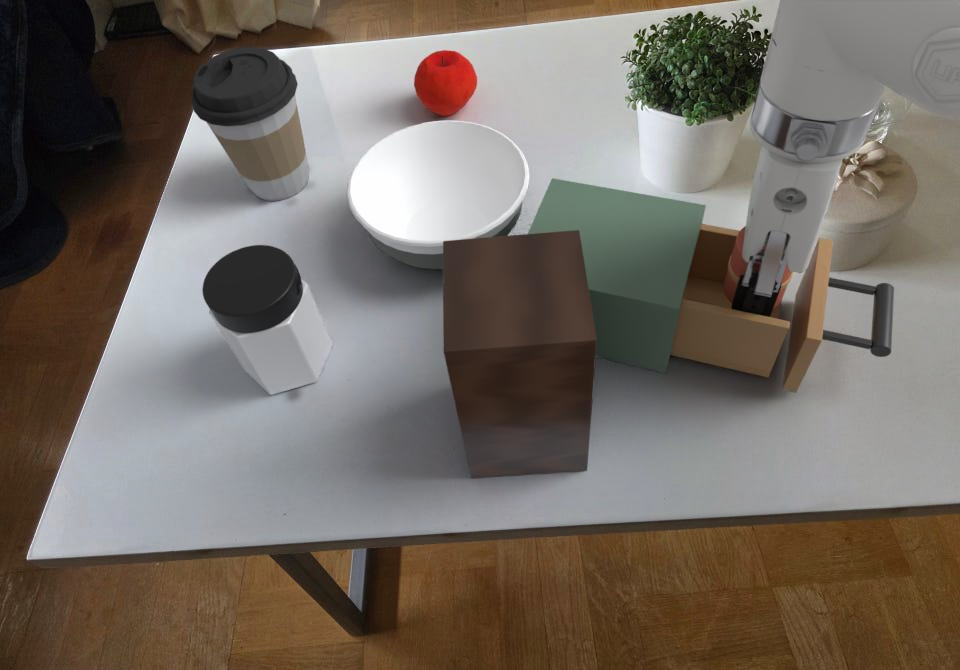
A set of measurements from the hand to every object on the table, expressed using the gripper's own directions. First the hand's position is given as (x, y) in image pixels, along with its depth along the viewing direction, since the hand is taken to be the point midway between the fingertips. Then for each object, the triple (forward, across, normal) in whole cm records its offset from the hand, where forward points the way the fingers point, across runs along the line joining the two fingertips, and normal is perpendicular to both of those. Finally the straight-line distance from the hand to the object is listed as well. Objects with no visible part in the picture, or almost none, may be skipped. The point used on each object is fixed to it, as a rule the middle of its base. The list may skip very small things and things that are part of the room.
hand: (755, 284), depth 63 cm
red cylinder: (+1, 0, 0) cm, 1 cm away
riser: (+7, -15, +16) cm, 24 cm away
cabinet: (+7, 0, +13) cm, 15 cm away
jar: (+7, -15, +41) cm, 44 cm away
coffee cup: (+7, +8, +55) cm, 56 cm away
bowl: (+7, +5, +32) cm, 33 cm away
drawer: (+7, 0, -2) cm, 7 cm away
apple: (+7, +26, +40) cm, 48 cm away
